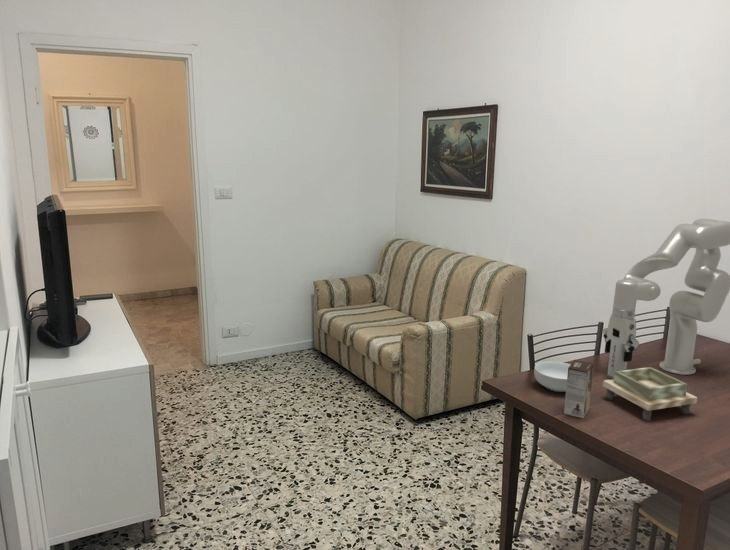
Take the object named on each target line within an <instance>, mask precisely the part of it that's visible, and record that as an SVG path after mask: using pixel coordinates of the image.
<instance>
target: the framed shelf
mask: <svg viewBox="0 0 730 550" xmlns="http://www.w3.org/2000/svg"><path fill="white" fill-rule="evenodd" d="M602 387H604V388H606V389H607V391H606V399H607V400H611V401H614V399H615V394H617V395H618V396H620V397H622V398H624V399H626V400H627V401H629V402H631V403H633V404H635V405H637V406H639V407H640V408H641V409H642V416H641V419H642V420H644V421H646V422H647V421H648V422H649V421H651V418H652V411H655V410H663V409H667V408H674V407H681V408H680V413H681V414H684V415H689V414H690V410H691V405H693V404H694V405H695V404H697V403H698V397H697V396H695V395H694V394H691V393H689V392H687V391H688V390H687V389H688V383H687V382H684V381H682V380H680V379H679V378H676V377H674V376H671V375H669V374H667V373H664V372H662V371H660V370H658V369H656V368H654V367H652V366H648V367H640V368H633V369H626V370H623V371H615V374H614V379H603V381H602Z"/></svg>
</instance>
